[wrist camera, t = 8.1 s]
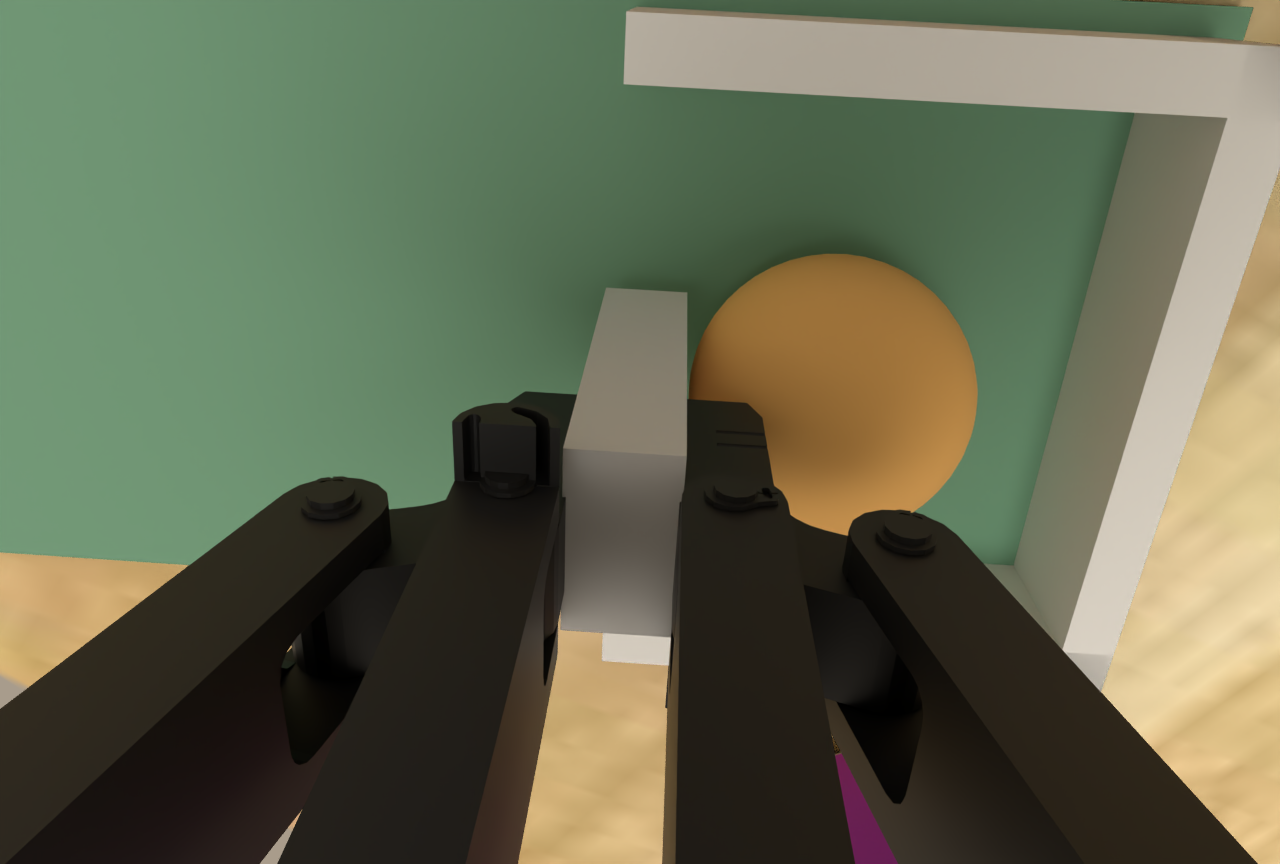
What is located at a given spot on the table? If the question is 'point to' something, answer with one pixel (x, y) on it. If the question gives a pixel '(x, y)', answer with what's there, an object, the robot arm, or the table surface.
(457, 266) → the putting mat
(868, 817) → the beverage can
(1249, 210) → the white u-shaped frame
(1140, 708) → the table surface
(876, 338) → the orange ball
